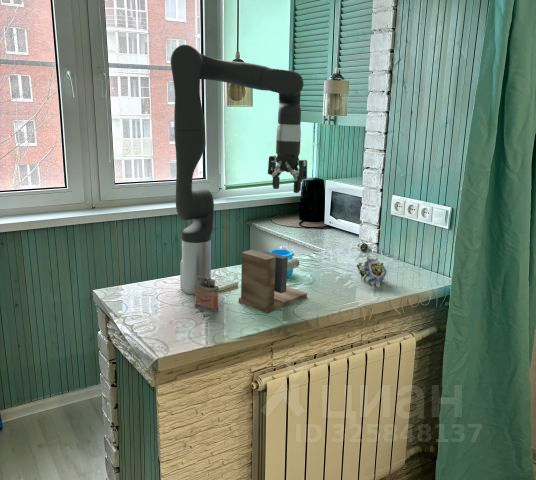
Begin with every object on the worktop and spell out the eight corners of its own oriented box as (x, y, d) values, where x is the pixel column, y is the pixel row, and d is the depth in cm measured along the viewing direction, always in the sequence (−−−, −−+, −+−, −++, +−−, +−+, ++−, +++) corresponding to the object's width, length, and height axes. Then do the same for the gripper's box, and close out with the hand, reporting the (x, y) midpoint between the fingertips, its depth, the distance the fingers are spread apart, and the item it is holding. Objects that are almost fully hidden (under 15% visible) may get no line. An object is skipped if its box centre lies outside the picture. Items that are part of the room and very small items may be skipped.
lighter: (220, 310, 156) (221, 278, 154) (214, 313, 153) (214, 281, 151) (199, 304, 160) (199, 273, 157) (192, 307, 157) (192, 276, 155)
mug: (265, 272, 191) (265, 250, 189) (284, 269, 195) (285, 248, 193) (281, 282, 181) (282, 260, 179) (301, 279, 185) (302, 257, 183)
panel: (259, 282, 167) (260, 249, 164) (286, 291, 160) (287, 257, 157) (254, 284, 166) (255, 250, 163) (281, 293, 159) (282, 258, 156)
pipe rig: (280, 286, 177) (282, 239, 172) (308, 296, 169) (311, 247, 165) (238, 302, 162) (239, 251, 158) (267, 313, 155) (269, 260, 150)
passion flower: (375, 301, 181) (369, 281, 173) (351, 287, 188) (345, 266, 180) (396, 280, 185) (391, 258, 176) (372, 266, 192) (366, 245, 184)
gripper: (263, 137, 164) (261, 188, 169) (298, 141, 155) (296, 195, 160) (279, 136, 170) (277, 186, 174) (314, 140, 161) (311, 192, 165)
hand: (286, 190), depth 167 cm, fingers open, 8 cm apart
